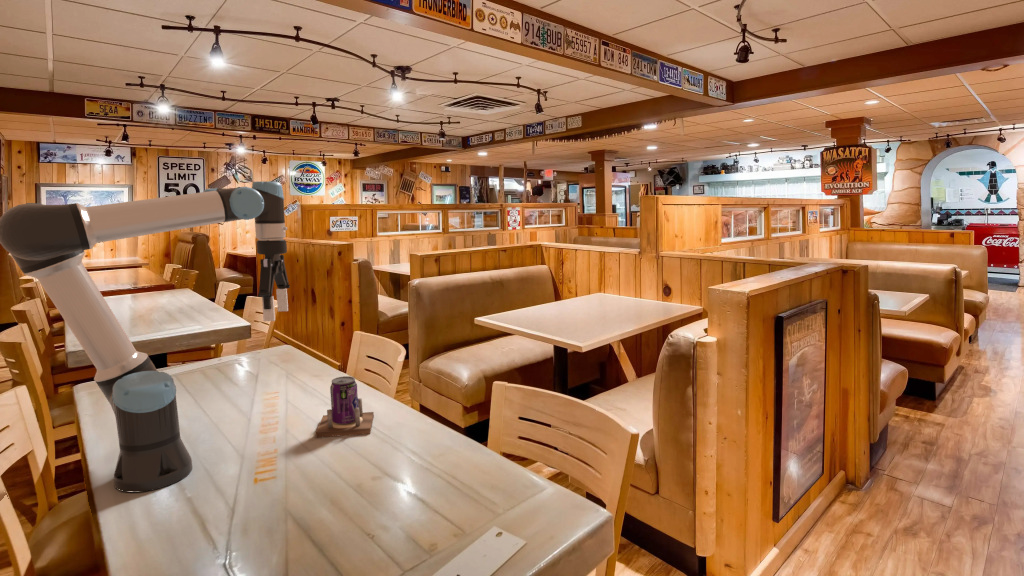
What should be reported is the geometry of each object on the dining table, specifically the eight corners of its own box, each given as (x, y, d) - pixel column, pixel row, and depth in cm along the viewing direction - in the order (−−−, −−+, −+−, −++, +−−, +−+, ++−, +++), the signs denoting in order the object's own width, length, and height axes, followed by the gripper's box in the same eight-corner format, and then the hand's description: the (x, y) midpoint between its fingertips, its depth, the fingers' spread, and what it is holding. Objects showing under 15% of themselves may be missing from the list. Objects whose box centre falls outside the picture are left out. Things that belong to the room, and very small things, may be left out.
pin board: (370, 433, 151) (369, 410, 150) (316, 437, 148) (314, 414, 147) (373, 416, 162) (372, 395, 161) (323, 420, 160) (322, 398, 159)
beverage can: (351, 427, 151) (349, 384, 149) (327, 425, 152) (324, 383, 150) (363, 417, 158) (361, 376, 156) (340, 415, 159) (337, 375, 157)
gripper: (272, 242, 140) (278, 324, 144) (296, 236, 165) (301, 307, 168) (241, 242, 139) (247, 325, 143) (270, 236, 164) (274, 307, 167)
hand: (276, 315), depth 155 cm, fingers open, 13 cm apart
